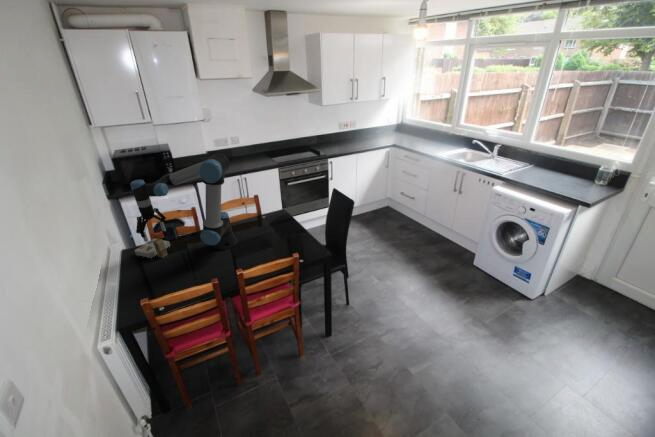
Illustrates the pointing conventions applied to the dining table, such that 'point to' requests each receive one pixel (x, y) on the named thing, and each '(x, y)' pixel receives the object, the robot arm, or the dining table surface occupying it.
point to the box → (170, 232)
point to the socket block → (149, 249)
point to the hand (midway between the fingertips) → (155, 235)
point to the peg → (160, 248)
